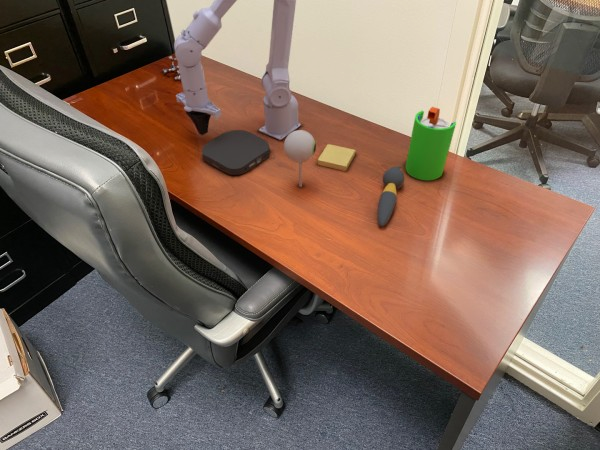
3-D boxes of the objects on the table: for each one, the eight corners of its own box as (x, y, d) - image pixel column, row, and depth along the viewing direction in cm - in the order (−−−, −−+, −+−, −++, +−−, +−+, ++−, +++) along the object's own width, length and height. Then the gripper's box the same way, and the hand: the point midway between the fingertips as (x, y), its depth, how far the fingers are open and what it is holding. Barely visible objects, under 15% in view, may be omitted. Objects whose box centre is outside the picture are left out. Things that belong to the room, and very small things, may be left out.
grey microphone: (398, 232, 94) (401, 215, 91) (374, 229, 95) (377, 212, 92) (403, 176, 108) (406, 159, 105) (383, 173, 109) (385, 157, 106)
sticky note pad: (327, 148, 117) (327, 143, 116) (355, 154, 115) (355, 149, 114) (317, 164, 112) (317, 159, 111) (345, 171, 110) (346, 166, 109)
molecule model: (179, 73, 154) (164, 52, 149) (194, 72, 145) (178, 50, 140) (167, 84, 152) (151, 64, 148) (180, 84, 143) (164, 62, 139)
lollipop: (312, 197, 103) (312, 143, 92) (282, 193, 104) (279, 140, 94) (317, 178, 108) (318, 125, 97) (289, 175, 109) (287, 122, 98)
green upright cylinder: (445, 166, 111) (462, 101, 98) (438, 184, 106) (455, 118, 93) (409, 157, 114) (422, 93, 101) (401, 175, 109) (413, 109, 96)
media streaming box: (237, 133, 123) (235, 124, 120) (276, 152, 116) (275, 143, 114) (197, 158, 115) (194, 148, 113) (236, 180, 108) (235, 170, 106)
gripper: (162, 84, 110) (174, 130, 120) (203, 101, 104) (211, 149, 113) (183, 73, 114) (193, 119, 124) (224, 89, 108) (230, 136, 117)
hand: (203, 133), depth 119 cm, fingers closed
